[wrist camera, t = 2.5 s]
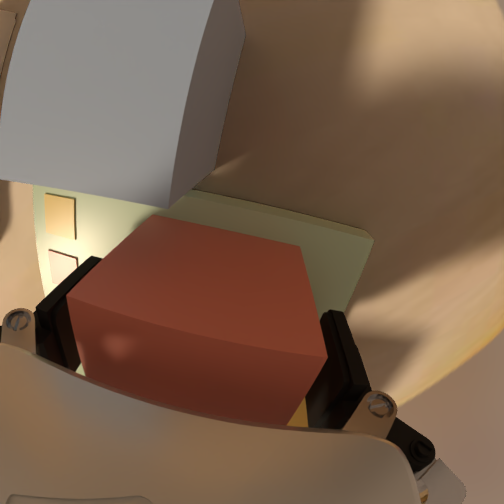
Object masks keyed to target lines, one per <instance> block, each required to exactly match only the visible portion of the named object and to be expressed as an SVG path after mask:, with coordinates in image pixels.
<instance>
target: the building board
mask: <svg viewBox="0 0 504 504" xmlns="http://www.w3.org/2000/svg"><path fill="white" fill-rule="evenodd" d="M33 209H34V225H35V236H36V245H37V253H38V260H39V267H40V273H41V279H42V284H43V289H44V294H45V297H46V296H47V295H48V294H49V293H50V292H51V291H52V290H53V289H55V288H56V287H57V286H58V285H59V284H60V283H61V282H62V281H63V280H64V279H65V278H66V277H67V276H68V275H70V274H71V273H72V272H73V271H74V270H75V269H76V268H77V267H78V266H80V265H81V264H82V263H83V262H84V261H85V260H86V259H88V258H89V257H90V256H96V257H99V258H104V257H105V256H106V255H107V254H108V253H110V252H111V251H112V250H113V249H114V248H115V247H116V246H117V245H118V244H119V243H120V242H122V241H123V240H124V239H125V238H126V237H127V236H128V235H129V234H131V233H132V232H133V231H134V230H135V229H136V228H137V227H139V226H140V225H141V224H142V223H143V222H144V221H146V220H147V219H148V218H149V217H150V216H151V215H158V216H163V217H168V218H173V219H177V220H182V221H187V222H192V223H196V224H201V225H206V226H210V227H215V228H220V229H224V230H229V231H233V232H238V233H243V234H247V235H252V236H256V237H261V238H265V239H270V240H274V241H278V242H283V243H287V244H292V245H296V246H300V249H301V252H302V256H303V259H304V263H305V267H306V270H307V274H308V278H309V282H310V286H311V289H312V293H313V297H314V301H315V305H316V309H317V313H318V317H319V321H320V319H321V317H322V314H323V313H324V312H328V310H330V309H331V310H337V311H342V312H343V313H344V312H345V309H346V307H347V305H348V303H349V301H350V299H351V296H352V294H353V292H354V290H355V287H356V285H357V283H358V281H359V278H360V276H361V274H362V271H363V269H364V266H365V264H366V261H367V259H368V257H369V254H370V251H371V249H372V246H373V244H374V241H375V240H374V239H373V238H372V237H371V236H370V235H369V234H368V233H367V231H366V230H362V229H359V228H355V227H351V226H348V225H344V224H340V223H337V222H333V221H329V220H325V219H321V218H317V217H313V216H309V215H305V214H301V213H297V212H293V211H289V210H285V209H281V208H276V207H272V206H268V205H264V204H259V203H255V202H250V201H246V200H241V199H237V198H232V197H227V196H222V195H218V194H213V193H208V192H203V191H198V190H193V189H191V190H189V191H188V192H187V193H186V194H185V195H184V196H183V197H181V198H180V199H179V200H178V201H177V202H176V203H174V204H173V205H172V206H171V207H170V208H169V209H164V208H159V207H154V206H149V205H144V204H139V203H134V202H129V201H123V200H118V199H113V198H107V197H102V196H96V195H91V194H85V193H80V192H74V191H68V190H63V189H57V188H51V187H45V186H39V185H33ZM76 373H79V374H81V375H83V376H85V373H84V370H83V366H82V363H81V364H80V366H79V367H78V369H77V370H76Z"/></svg>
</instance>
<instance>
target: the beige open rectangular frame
mask: <svg viewBox="0 0 504 504" xmlns="http://www.w3.org/2000/svg"><path fill="white" fill-rule="evenodd" d="M16 14H17V13H15V12H11V11H6V10H1V9H0V76H1V72H2V67H3V63H4V59H5V55H6V51H7V48H8V44H9V41H10V37H11V34H12V31H13V28H14V25H15V22H16V19H15V16H16Z"/></svg>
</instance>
